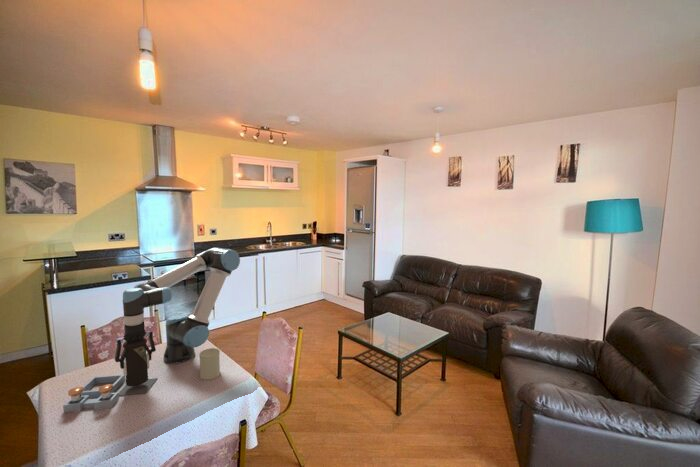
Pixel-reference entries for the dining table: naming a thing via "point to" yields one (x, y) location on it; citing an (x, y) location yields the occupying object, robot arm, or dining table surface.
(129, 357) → the container
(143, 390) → the pad
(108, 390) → the plunger
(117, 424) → the dining table surface
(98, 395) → the filter socket
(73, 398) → the plunger
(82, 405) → the plunger base
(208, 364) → the can
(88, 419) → the dining table surface
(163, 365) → the dining table surface
